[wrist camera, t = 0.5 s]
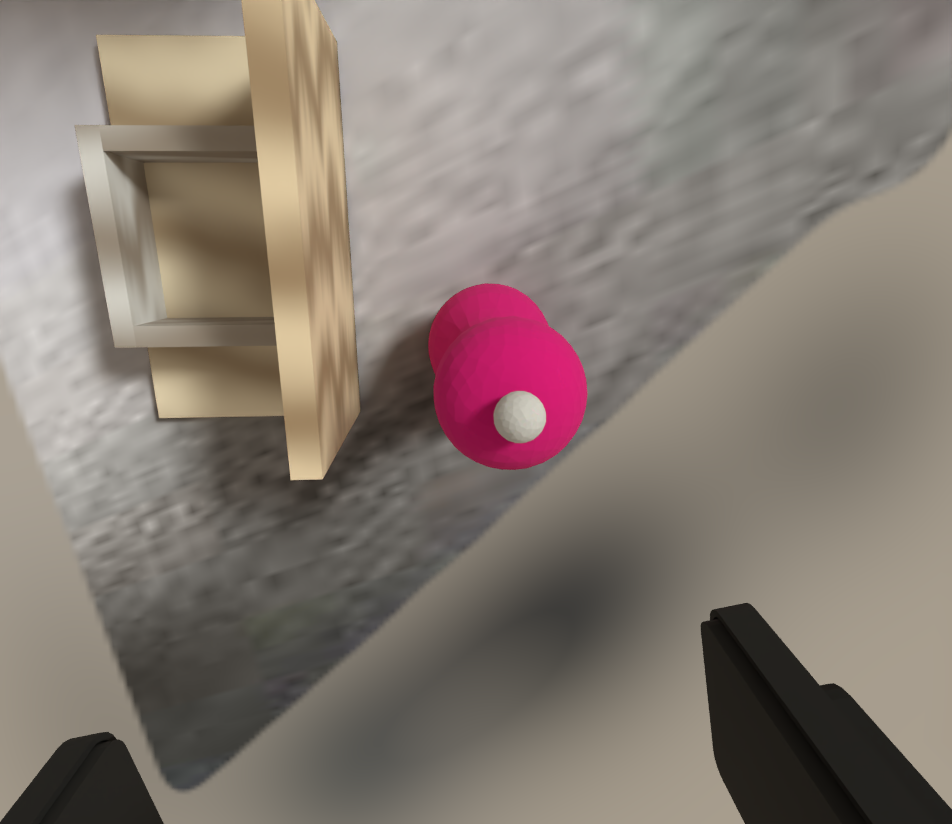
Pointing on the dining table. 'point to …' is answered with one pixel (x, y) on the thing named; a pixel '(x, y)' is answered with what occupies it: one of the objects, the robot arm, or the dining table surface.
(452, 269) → the dining table surface
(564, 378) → the pepper mill
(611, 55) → the dining table surface
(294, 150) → the condiment rack
